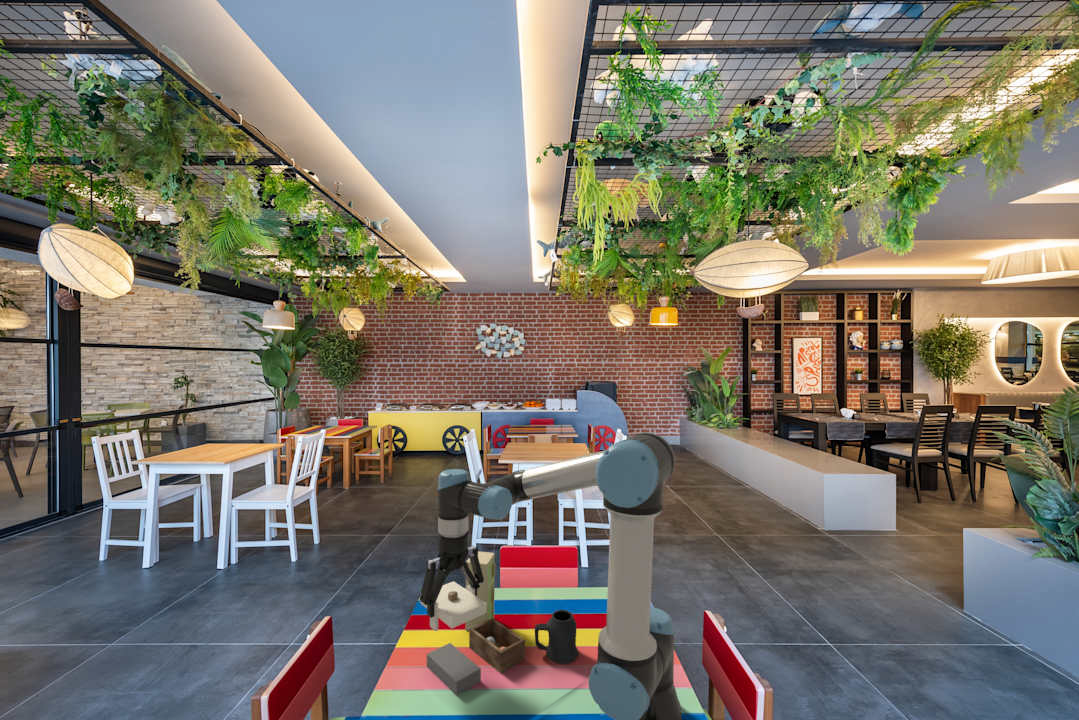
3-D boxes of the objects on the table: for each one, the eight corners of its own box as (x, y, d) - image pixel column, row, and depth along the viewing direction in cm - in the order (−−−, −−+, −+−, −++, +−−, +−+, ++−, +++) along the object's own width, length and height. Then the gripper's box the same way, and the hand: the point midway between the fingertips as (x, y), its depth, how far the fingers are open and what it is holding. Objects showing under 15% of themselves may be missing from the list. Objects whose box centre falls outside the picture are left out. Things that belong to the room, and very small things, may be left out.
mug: (576, 645, 133) (577, 605, 132) (581, 667, 124) (581, 624, 123) (534, 646, 132) (534, 606, 132) (535, 668, 123) (535, 625, 123)
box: (524, 662, 125) (524, 639, 125) (500, 676, 120) (500, 652, 120) (492, 638, 136) (492, 618, 135) (469, 650, 130) (469, 628, 130)
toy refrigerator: (488, 636, 137) (489, 564, 136) (464, 633, 138) (464, 561, 138) (496, 621, 145) (497, 552, 144) (473, 618, 146) (474, 550, 146)
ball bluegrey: (497, 648, 130) (497, 637, 130) (488, 653, 128) (488, 642, 128) (490, 643, 132) (490, 632, 132) (482, 648, 130) (482, 637, 130)
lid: (486, 612, 117) (486, 598, 117) (451, 628, 111) (451, 613, 110) (453, 590, 128) (453, 576, 128) (420, 603, 122) (420, 589, 122)
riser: (480, 684, 117) (480, 668, 117) (456, 698, 112) (456, 681, 112) (450, 657, 127) (450, 642, 127) (426, 669, 122) (426, 653, 122)
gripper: (481, 517, 130) (480, 598, 130) (404, 539, 114) (404, 631, 115) (498, 525, 124) (497, 609, 124) (419, 549, 109) (419, 645, 109)
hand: (452, 619), depth 119 cm, fingers closed on lid, 10 cm apart
